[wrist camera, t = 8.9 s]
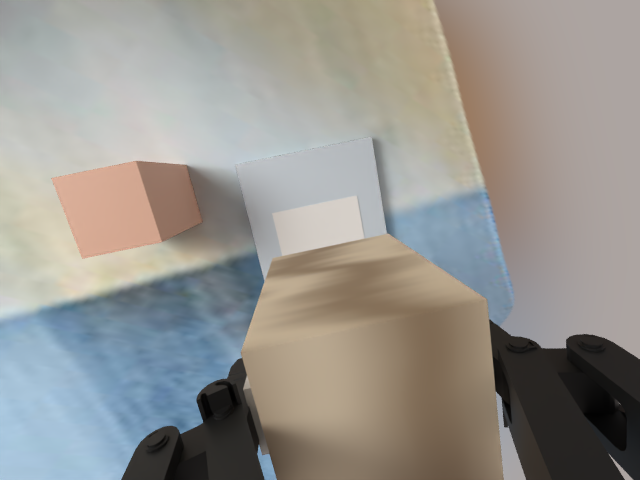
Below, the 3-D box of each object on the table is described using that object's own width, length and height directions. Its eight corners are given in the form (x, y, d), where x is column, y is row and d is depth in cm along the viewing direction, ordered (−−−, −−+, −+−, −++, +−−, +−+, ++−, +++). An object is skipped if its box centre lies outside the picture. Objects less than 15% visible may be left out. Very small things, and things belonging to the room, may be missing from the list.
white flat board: (280, 337, 36) (280, 342, 35) (236, 164, 32) (234, 164, 31) (397, 312, 37) (400, 316, 36) (369, 137, 32) (371, 136, 31)
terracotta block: (146, 233, 33) (82, 258, 23) (128, 176, 32) (51, 178, 22) (202, 221, 33) (161, 242, 23) (186, 164, 32) (135, 160, 22)
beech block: (298, 361, 20) (295, 543, 10) (272, 258, 18) (240, 352, 9) (404, 338, 20) (505, 495, 10) (388, 233, 18) (487, 299, 9)
